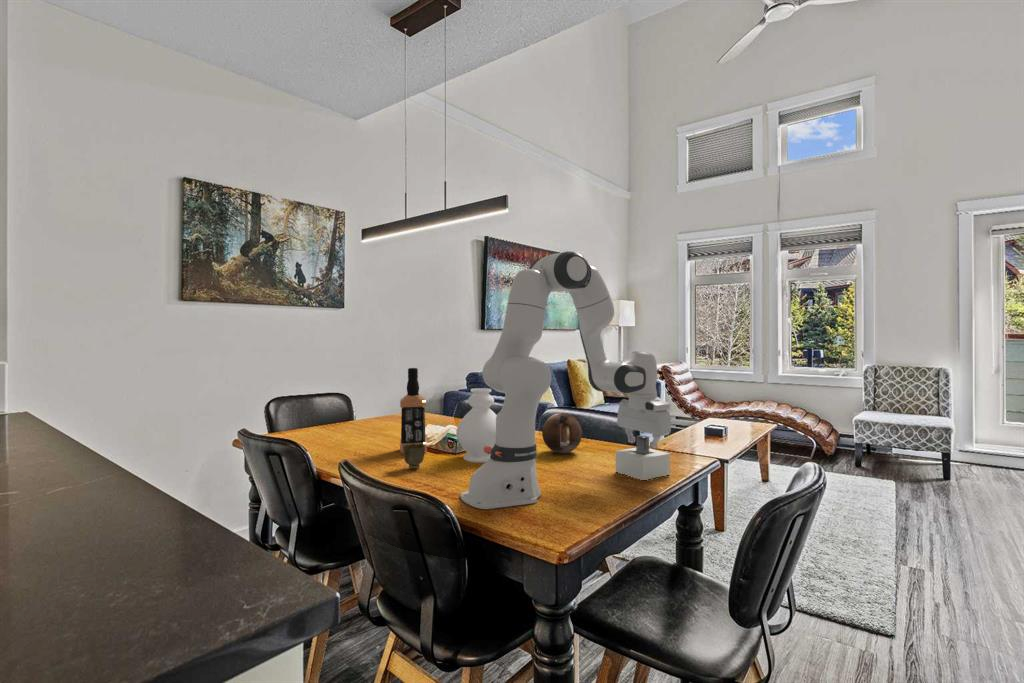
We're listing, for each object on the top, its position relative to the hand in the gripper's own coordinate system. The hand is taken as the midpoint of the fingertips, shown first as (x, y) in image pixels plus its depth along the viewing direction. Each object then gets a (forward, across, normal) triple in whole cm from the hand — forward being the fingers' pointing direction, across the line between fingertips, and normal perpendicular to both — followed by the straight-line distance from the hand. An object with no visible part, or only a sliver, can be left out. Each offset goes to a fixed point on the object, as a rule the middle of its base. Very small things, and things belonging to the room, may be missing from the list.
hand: (642, 445), depth 166 cm
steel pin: (+9, 0, 0) cm, 9 cm away
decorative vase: (+10, -46, -34) cm, 58 cm away
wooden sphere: (+10, -37, -4) cm, 38 cm away
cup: (+10, -45, -60) cm, 76 cm away
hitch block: (+9, 0, 0) cm, 9 cm away
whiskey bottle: (+10, -69, -51) cm, 86 cm away
